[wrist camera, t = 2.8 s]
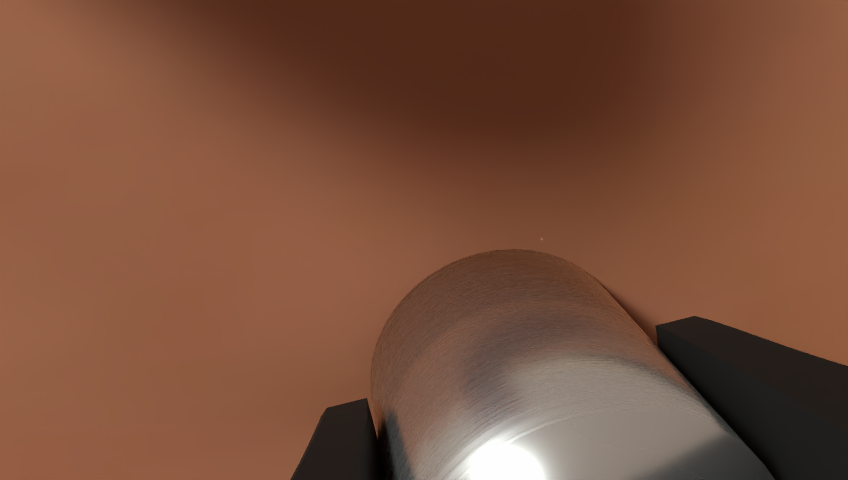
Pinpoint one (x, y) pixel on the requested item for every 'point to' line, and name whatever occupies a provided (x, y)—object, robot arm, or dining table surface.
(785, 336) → the dining table surface
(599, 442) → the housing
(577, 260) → the dining table surface
